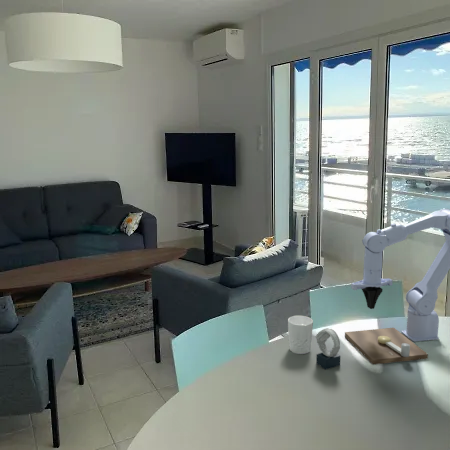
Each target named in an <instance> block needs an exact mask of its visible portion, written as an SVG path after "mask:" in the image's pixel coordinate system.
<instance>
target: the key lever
mask: <svg viewBox="0 0 450 450" xmlns="http://www.w3.org/2000/svg"><path fill="white" fill-rule="evenodd" d="M378 342H379V343H381V344H386V345H388V346H389V347H391V348H392V349H394V350H395V351H397V352H398V353H400V354H401V356H403V357H409V354H410V345H409V344H407V343H403V344H402V345H401V348H400V347H398V346H396V345H395V344H393V343H392V342H391V338H389V337H387V336H379V337H378Z"/></svg>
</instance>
